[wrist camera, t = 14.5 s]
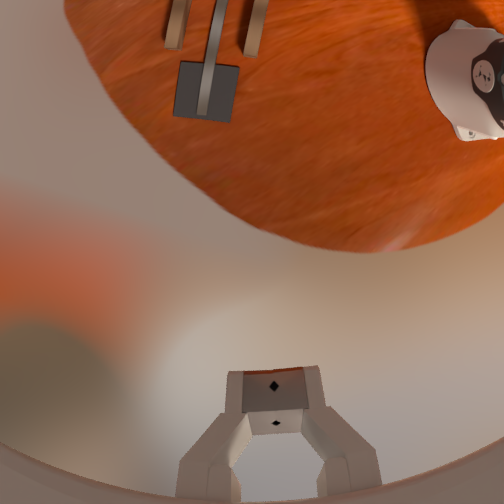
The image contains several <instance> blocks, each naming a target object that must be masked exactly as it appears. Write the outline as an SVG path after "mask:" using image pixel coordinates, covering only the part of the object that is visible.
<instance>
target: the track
mask: <svg viewBox="0 0 504 504" xmlns="http://www.w3.org/2000/svg"><path fill="white" fill-rule="evenodd" d="M191 2H192V0H174V1H173V5H172V10H171V15H170V19H169V24H168V29H167V34H166V40H165V45H164V48H166V49H169V50H182V46H183V40H184V35H185V30H186V25H187V20H188V16H189V11H190V6H191ZM268 2H269V0H255V1H254V5H253V10H252V15H251V19H250V24H249V29H248V34H247V38H246V43H245V48H244V53H243V55H244V57H251V58H257V54H258V49H259V44H260V40H261V35H262V30H263V25H264V20H265V16H266V11H267V6H268ZM227 4H228V0H217V4H216V8H215V13H214V17H213V22H212V27H211V32H210V37H209V42H208V47H207V53H206V58H205V64H204V69H203V75H202V81H201V87H200V94H199V100H198V107H197V115H207V109H208V103H209V97H210V90H211V84H212V79H213V73H214V67H215V63H216V58H217V53H218V47H219V42H220V37H221V32H222V27H223V23H224V18H225V13H226V9H227Z"/></svg>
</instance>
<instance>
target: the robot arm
mask: <svg viewBox="0 0 504 504" xmlns="http://www.w3.org/2000/svg"><path fill="white" fill-rule="evenodd" d="M425 68H426V79H427V84H428V87H429V90H430V93H431V96H432V98H433V100H434V102H435V103H436V105H437V107H438V108H439V109H440V111H441V112H442V113H443V114H444V115H445V116H446V117H447V118H448V119H449V121H450V122H451V123H452V125H453V128H454V130H455V133H456V135H457V137H458V138H459V139H460V140H463V141H471V140H479V139H488V138H491V139H495V140H497V138H498V137H504V35H503V34H500V33H497V32H496V30H495V29H492V28H476V27H474V26H472V25H471V24H469V23H468V22H466V21H464V20H455V21H454V22H453V24H452V25H451V27H450V29H449V30H448V31H447V32H445V33H443V34H441V35H439V36H438V37H437V38H436V39H435V40H434V41H433V42H432V44H431V45H430V47H429V50H428V53H427V57H426V66H425ZM469 131H470V134H469ZM296 432H301V433H302V435H303V436H304V437H305V438H306V440H307V441H308V442H309V444H310V445H311V446H312V447H313V448H314V450H315V451H316V452H317V453H318V455H319V456H320V457H321V458H322V459H323V461H324V462H325V463H324V465H323V468H322V470H321V472H320V474H319V476H318V478H317V492H318V497H317V498H309V499H299V500H287V501H270V502H241V484H240V483H239V481H238V479H237V477H236V476H235V474H234V472H233V470H232V469H231V468H232V466H233V465H234V464H235V462H236V460H237V459H238V457H239V456H240V455H241V453H242V452H243V450H244V449H245V447H246V446H247V444H248V443H249V441H250V440H251V438H252V435H264V434H279V433H296ZM0 504H504V437H503V438H501V439H499V440H497V441H495V442H493V443H491V444H489V445H487V446H485V447H483V448H481V449H479V450H477V451H475V452H473V453H471V454H469V455H467V456H465V457H462V458H460V459H458V460H455V461H453V462H450V463H448V464H445V465H443V466H440V467H438V468H435V469H433V470H430V471H427V472H424V473H421V474H418V475H415V476H412V477H409V478H406V479H402V480H399V481H395V482H392V483H388V484H384V485H382V481H381V475H380V470H379V465H378V460H377V456H376V451H375V449H374V448H373V447H372V446H371V445H370V444H369V443H368V442H367V441H366V440H365V439H364V438H363V437H362V436H360V435H359V434H358V433H357V432H356V431H355V430H354V429H353V428H352V427H351V426H350V425H349V424H348V423H347V422H346V421H345V420H344V419H343V418H342V417H341V416H340V415H339V414H338V413H337V412H336V411H335V410H334V409H332V408H331V406H329V407H326V405H325V398H324V393H323V387H322V382H321V375H320V370H319V367H318V366H309V367H294V368H285V369H274V370H260V371H229V372H228V375H227V388H226V402H225V413H220V415H219V416H218V417H217V418H216V420H215V421H214V422H213V423H212V424H211V425H210V427H209V428H208V429H207V430H206V431H205V433H204V434H203V435H202V436H201V437H200V438H199V440H198V441H197V442H196V443H195V444H194V445H193V446H192V448H191V449H190V450H189V451H188V452H187V453H186V454H185V455H184V457H183V458H182V459H181V460H180V464H179V471H178V478H177V486H176V494H175V497H168V496H162V495H156V494H150V493H145V492H140V491H134V490H130V489H125V488H121V487H117V486H113V485H109V484H105V483H102V482H98V481H95V480H91V479H88V478H85V477H82V476H79V475H76V474H73V473H70V472H67V471H64V470H62V469H59V468H56V467H53V466H51V465H48V464H46V463H44V462H41V461H39V460H36V459H34V458H32V457H30V456H28V455H25V454H23V453H21V452H19V451H17V450H15V449H13V448H11V447H9V446H7V445H5V444H3V443H1V442H0Z"/></svg>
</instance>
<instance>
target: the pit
mask: <svg viewBox="0 0 504 504" xmlns="http://www.w3.org/2000/svg"><path fill="white" fill-rule="evenodd" d="M203 69H204V64H202V63H190V62H181V65H180V72H179V78H178V85H177V91H176V99H175V106H174V114H173V116H177V117H187V118H197V119H205V120H213V121H221V122H228V123H230V119H231V113H232V107H233V101H234V96H235V90H236V85H237V79H238V74H239V68H237V67H230V66H222V65H215V67H214V73H213V79H212V84H211V90H210V97H209V103H208V109H207V115H197V107H198V100H199V94H200V87H201V81H202V75H203Z"/></svg>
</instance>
